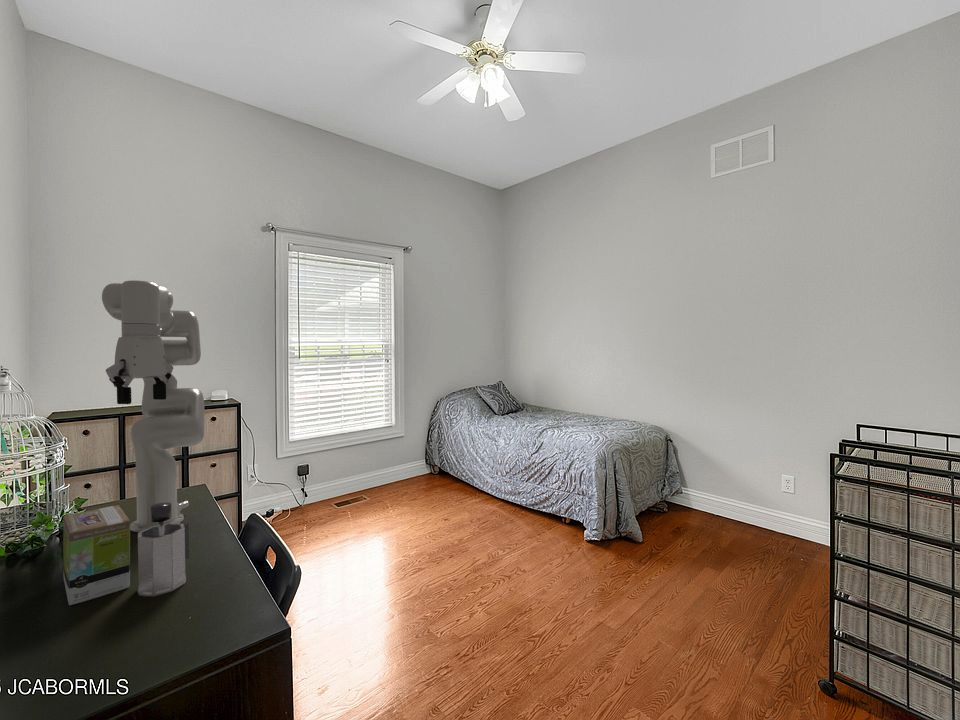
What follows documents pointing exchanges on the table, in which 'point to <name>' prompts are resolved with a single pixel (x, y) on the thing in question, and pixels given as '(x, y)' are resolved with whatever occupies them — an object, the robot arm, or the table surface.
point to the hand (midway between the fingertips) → (142, 401)
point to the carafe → (162, 559)
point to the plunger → (161, 515)
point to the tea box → (96, 553)
